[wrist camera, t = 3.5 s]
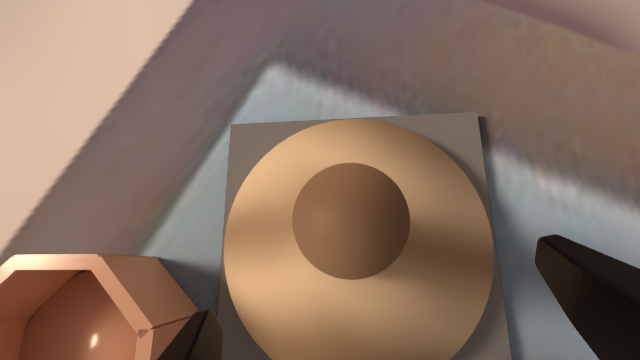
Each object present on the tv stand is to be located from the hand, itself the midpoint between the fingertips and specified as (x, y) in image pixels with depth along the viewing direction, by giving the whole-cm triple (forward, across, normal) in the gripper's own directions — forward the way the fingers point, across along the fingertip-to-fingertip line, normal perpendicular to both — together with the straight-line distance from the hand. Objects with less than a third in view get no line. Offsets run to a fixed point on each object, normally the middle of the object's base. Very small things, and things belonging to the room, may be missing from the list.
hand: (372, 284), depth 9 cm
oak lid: (+8, 0, +5) cm, 9 cm away
